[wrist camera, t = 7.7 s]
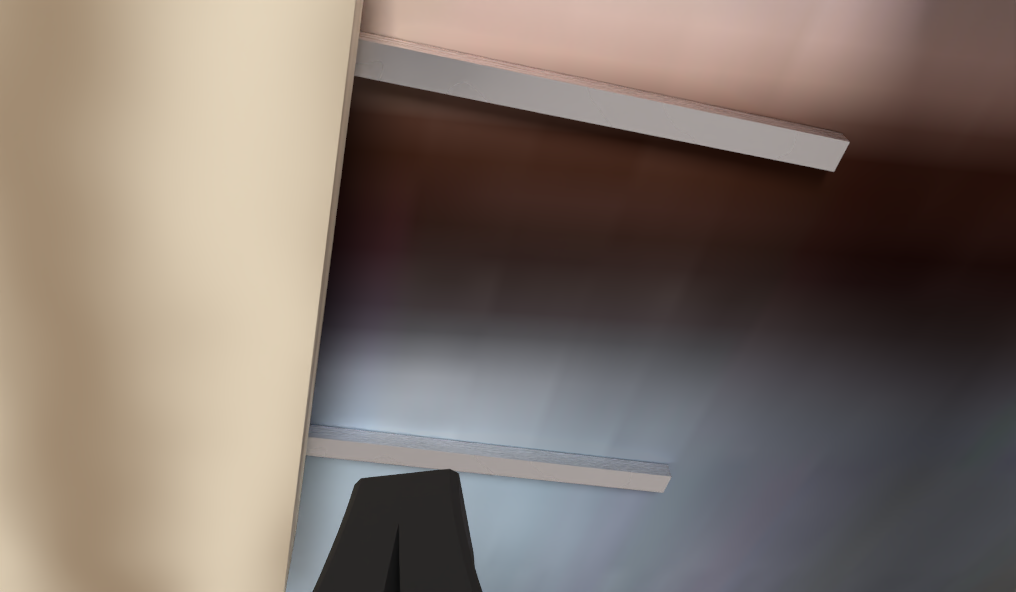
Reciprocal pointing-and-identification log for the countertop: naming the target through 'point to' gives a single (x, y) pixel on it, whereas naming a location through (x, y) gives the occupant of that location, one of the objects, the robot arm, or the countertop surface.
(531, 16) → the countertop surface
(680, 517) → the countertop surface
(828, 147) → the track
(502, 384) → the countertop surface
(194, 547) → the cream rectangular box
